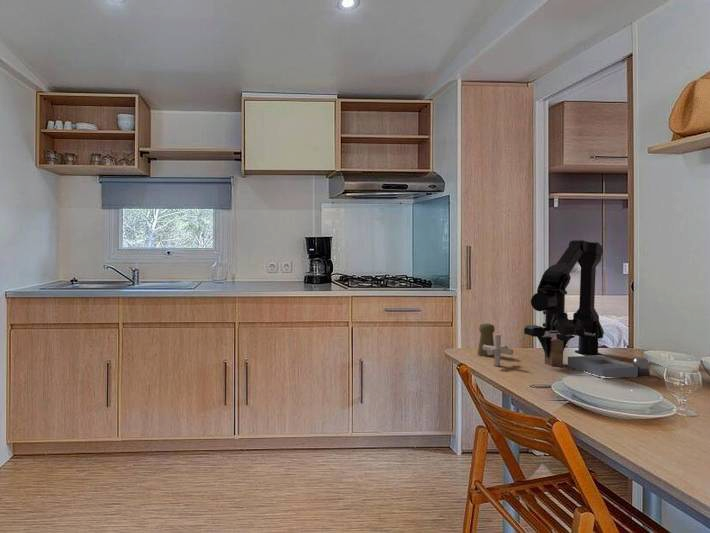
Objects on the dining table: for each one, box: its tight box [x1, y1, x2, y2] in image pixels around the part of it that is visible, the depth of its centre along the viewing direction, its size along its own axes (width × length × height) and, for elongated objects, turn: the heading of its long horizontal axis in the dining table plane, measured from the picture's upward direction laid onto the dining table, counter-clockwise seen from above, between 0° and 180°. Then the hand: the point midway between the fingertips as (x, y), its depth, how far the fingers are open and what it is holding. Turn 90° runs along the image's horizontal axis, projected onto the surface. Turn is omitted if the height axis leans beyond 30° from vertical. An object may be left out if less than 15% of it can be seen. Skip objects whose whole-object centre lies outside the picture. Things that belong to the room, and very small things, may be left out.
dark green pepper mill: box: [477, 323, 496, 358], centre depth 178 cm, size 6×6×11 cm
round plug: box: [632, 356, 651, 377], centre depth 152 cm, size 4×4×5 cm
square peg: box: [544, 338, 564, 367], centre depth 165 cm, size 4×4×8 cm
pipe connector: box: [482, 333, 514, 367], centre depth 163 cm, size 10×10×10 cm
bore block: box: [567, 354, 639, 378], centre depth 156 cm, size 16×12×3 cm
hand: (553, 356), depth 165 cm, fingers closed on square peg, 4 cm apart
